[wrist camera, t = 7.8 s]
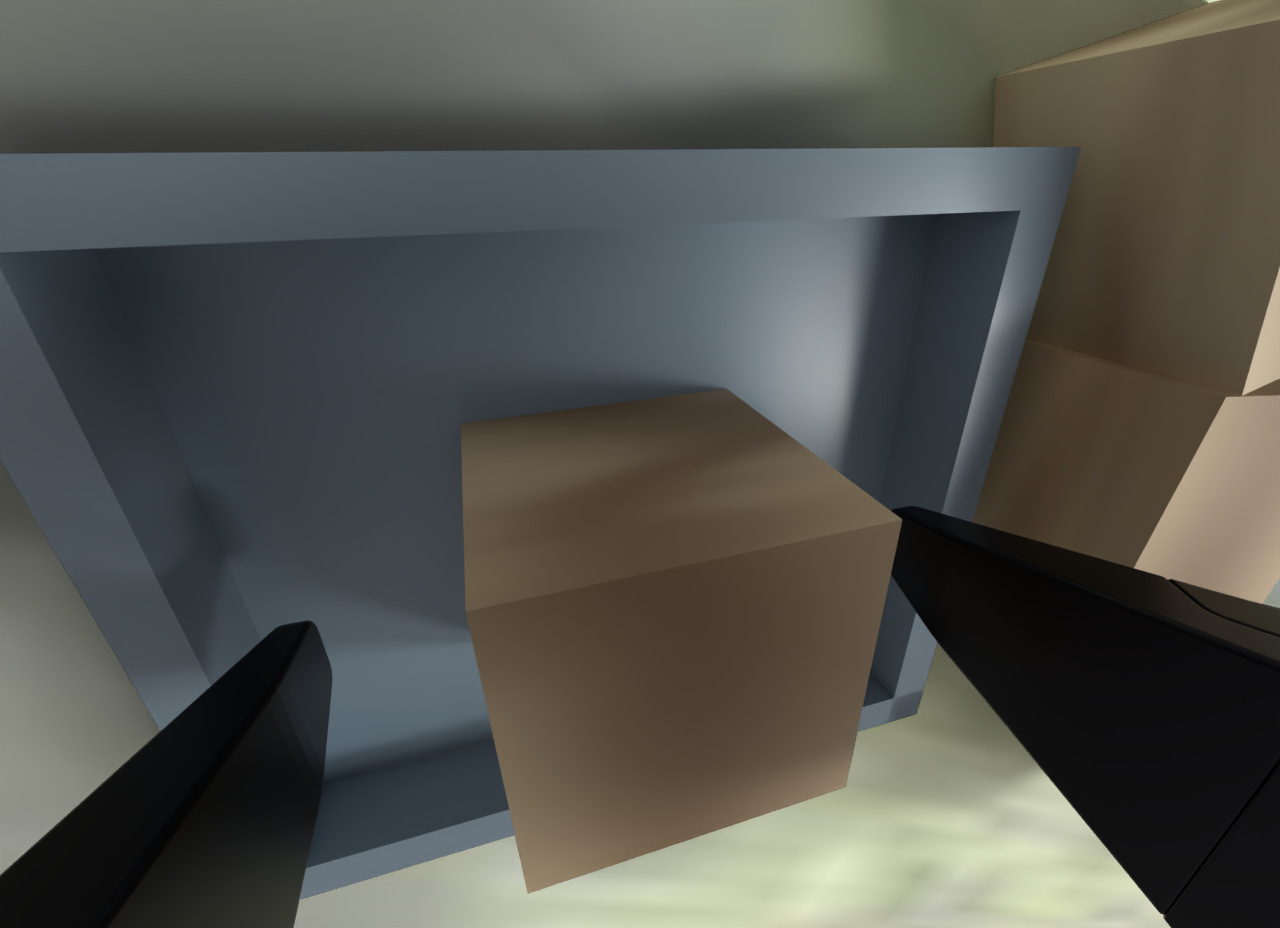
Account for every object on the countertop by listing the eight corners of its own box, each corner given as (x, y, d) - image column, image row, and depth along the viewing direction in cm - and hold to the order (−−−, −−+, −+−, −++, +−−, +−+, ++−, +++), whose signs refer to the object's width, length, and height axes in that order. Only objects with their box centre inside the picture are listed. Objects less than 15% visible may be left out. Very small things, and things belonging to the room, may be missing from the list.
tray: (961, 154, 10) (1082, 146, 8) (858, 647, 15) (916, 714, 13) (4, 164, 7) (-182, 155, 5) (296, 792, 12) (266, 910, 10)
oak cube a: (726, 388, 10) (903, 519, 6) (718, 591, 12) (846, 787, 8) (460, 424, 9) (465, 611, 5) (501, 640, 11) (528, 893, 7)
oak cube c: (1203, 4, 10) (1665, -109, 6) (1156, 256, 12) (1477, 288, 8) (991, 78, 10) (1356, 4, 6) (983, 327, 12) (1241, 395, 8)
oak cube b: (1123, 330, 13) (1406, 390, 9) (1048, 500, 15) (1257, 609, 11) (971, 327, 12) (1227, 397, 8) (911, 514, 14) (1092, 644, 10)
